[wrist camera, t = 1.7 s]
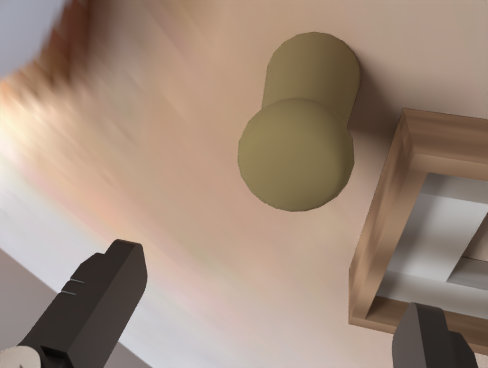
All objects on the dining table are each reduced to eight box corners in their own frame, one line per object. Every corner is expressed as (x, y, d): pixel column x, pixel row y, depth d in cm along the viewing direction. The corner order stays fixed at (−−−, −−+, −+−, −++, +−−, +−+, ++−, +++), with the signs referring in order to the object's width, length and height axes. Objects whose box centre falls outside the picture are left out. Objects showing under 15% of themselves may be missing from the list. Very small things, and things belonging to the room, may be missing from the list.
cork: (382, 70, 23) (400, 172, 14) (319, 138, 26) (303, 251, 18) (302, 10, 22) (270, 80, 13) (249, 89, 25) (196, 184, 17)
